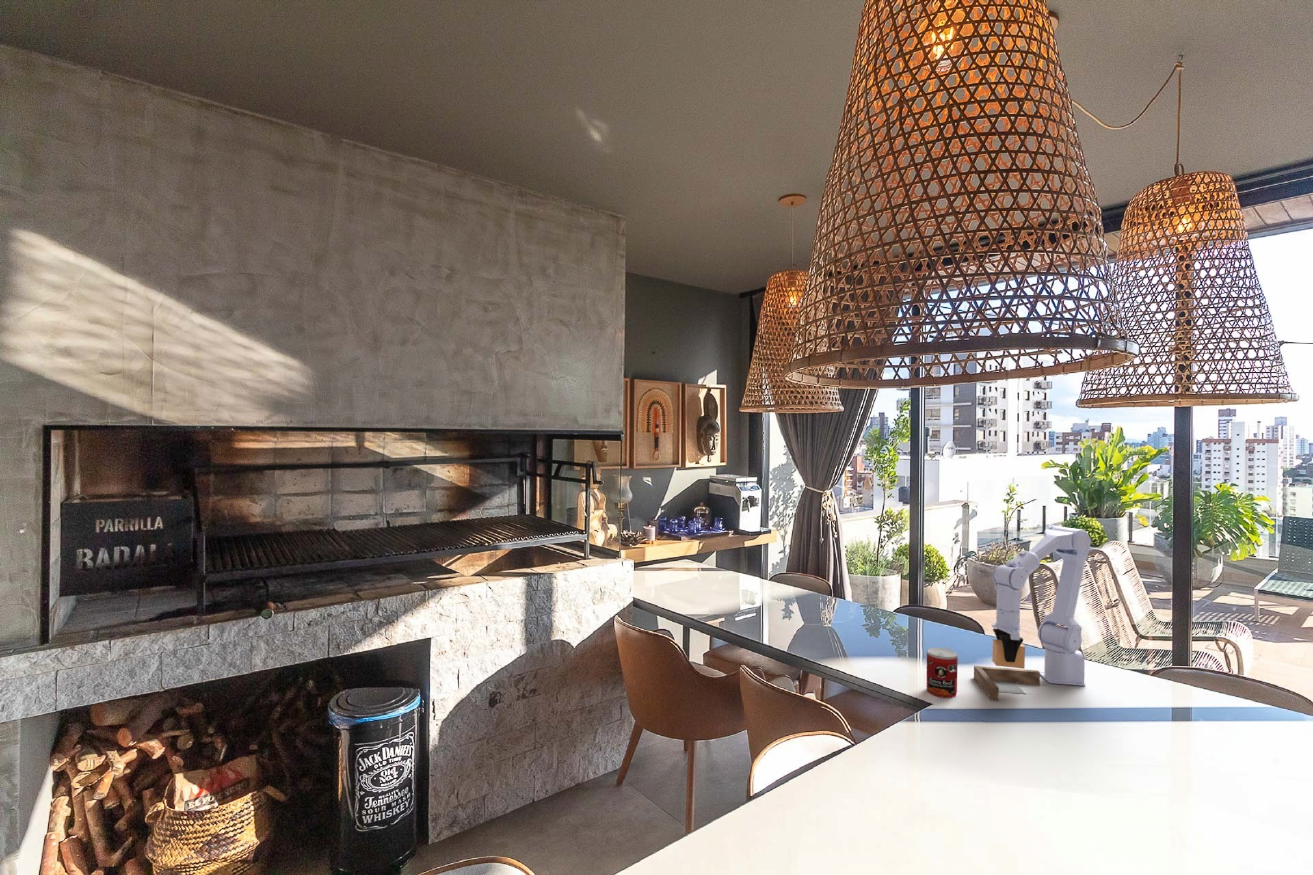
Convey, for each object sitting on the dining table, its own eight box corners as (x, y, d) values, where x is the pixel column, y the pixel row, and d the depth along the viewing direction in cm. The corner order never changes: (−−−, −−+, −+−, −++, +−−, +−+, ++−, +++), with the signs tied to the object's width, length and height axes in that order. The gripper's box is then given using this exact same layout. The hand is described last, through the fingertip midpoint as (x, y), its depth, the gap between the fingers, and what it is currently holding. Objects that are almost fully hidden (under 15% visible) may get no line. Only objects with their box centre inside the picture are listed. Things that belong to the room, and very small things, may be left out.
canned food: (924, 694, 177) (925, 653, 177) (927, 685, 184) (928, 645, 184) (956, 700, 174) (956, 658, 174) (957, 690, 181) (958, 650, 181)
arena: (1037, 682, 188) (1037, 670, 188) (1062, 706, 171) (1063, 692, 171) (973, 677, 191) (974, 665, 191) (992, 700, 174) (992, 687, 174)
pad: (1015, 682, 187) (1015, 682, 187) (1025, 694, 179) (1025, 693, 179) (981, 680, 189) (981, 680, 189) (991, 691, 180) (991, 690, 180)
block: (992, 660, 185) (992, 639, 185) (1019, 663, 184) (1020, 641, 184) (996, 665, 181) (996, 643, 181) (1024, 668, 179) (1025, 646, 179)
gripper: (985, 602, 190) (985, 649, 190) (999, 615, 176) (998, 665, 176) (1012, 604, 189) (1011, 651, 189) (1028, 617, 175) (1027, 668, 175)
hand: (1007, 658), depth 182 cm, fingers closed on block, 4 cm apart
